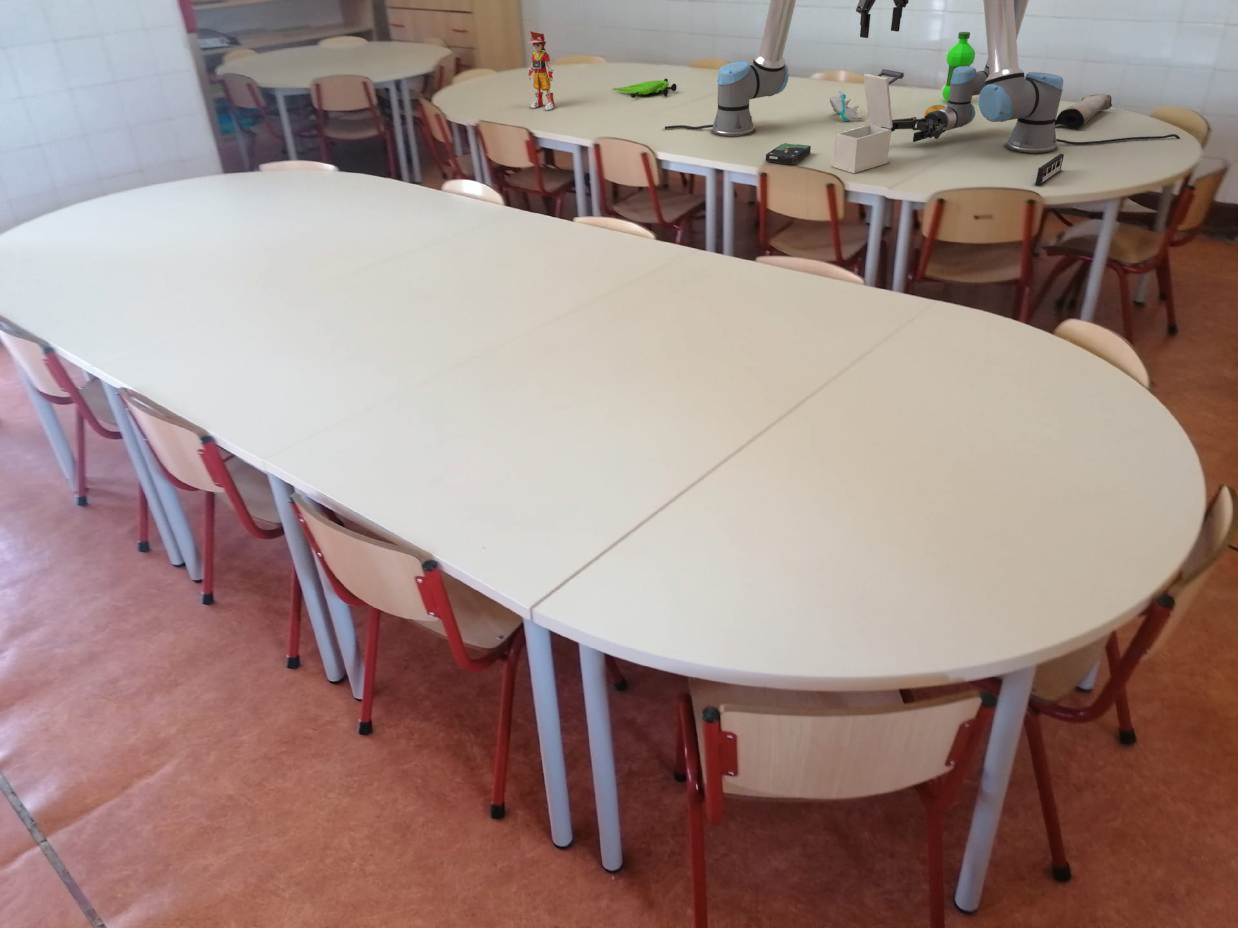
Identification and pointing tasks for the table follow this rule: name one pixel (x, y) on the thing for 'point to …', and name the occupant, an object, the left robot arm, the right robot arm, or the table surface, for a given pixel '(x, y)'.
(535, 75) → the toy
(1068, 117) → the rolled mat
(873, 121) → the lid
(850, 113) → the anatomical model
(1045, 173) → the midi keyboard
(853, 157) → the chest
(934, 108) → the fruit
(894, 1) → the left robot arm
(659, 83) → the toy
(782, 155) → the disk drive
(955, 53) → the plastic bottle
